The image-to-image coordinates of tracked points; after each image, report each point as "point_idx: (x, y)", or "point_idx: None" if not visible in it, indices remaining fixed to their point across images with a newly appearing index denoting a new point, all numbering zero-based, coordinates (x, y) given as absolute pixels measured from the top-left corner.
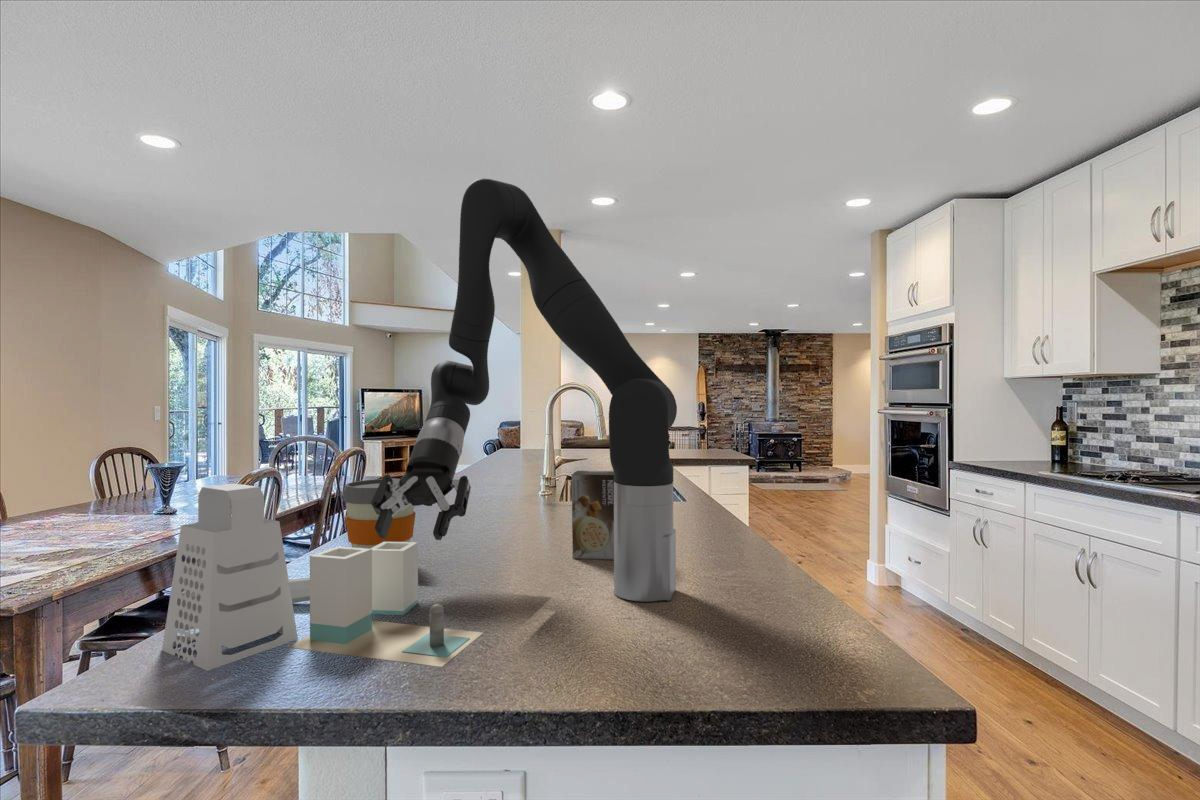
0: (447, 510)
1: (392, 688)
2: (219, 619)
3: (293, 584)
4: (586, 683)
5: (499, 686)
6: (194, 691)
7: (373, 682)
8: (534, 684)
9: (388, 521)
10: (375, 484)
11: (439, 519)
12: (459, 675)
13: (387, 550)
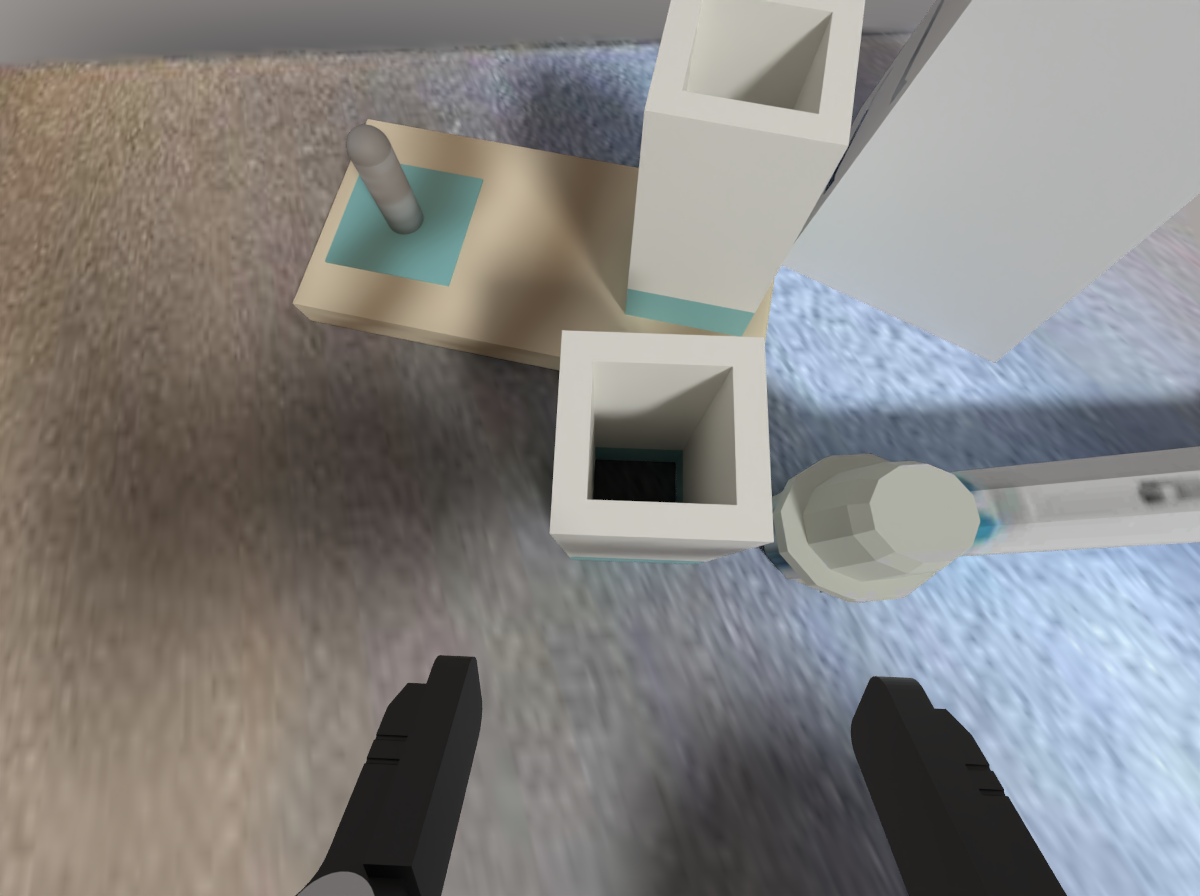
0: (315, 886)
1: (474, 114)
2: (938, 1)
3: (1063, 472)
4: (69, 149)
5: (254, 130)
6: (865, 88)
7: (523, 134)
8: (180, 141)
9: (918, 841)
10: None
11: (414, 764)
12: (346, 169)
13: (651, 335)
